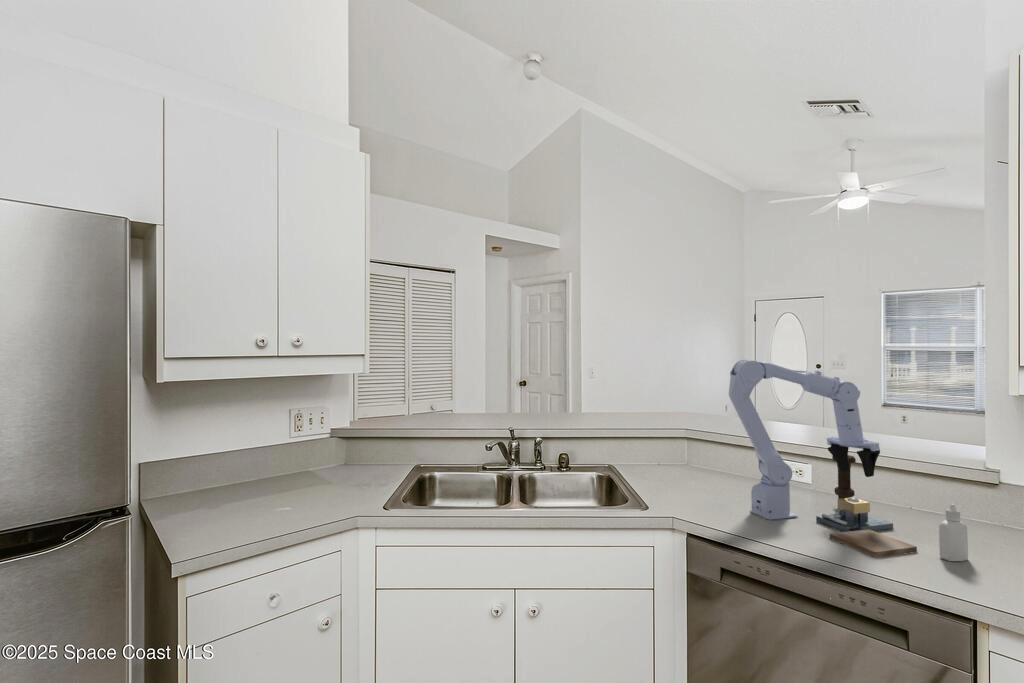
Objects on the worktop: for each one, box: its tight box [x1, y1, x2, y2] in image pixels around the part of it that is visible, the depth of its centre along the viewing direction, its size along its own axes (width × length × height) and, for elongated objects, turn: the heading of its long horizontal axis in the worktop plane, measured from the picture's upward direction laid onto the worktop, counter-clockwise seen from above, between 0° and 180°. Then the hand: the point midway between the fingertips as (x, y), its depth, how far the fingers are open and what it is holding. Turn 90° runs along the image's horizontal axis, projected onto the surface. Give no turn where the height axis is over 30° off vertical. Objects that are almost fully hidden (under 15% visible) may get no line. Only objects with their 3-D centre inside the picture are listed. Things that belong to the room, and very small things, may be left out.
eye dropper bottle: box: [938, 503, 969, 562], centre depth 114 cm, size 4×6×12 cm
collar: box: [837, 496, 871, 514], centre depth 136 cm, size 5×5×2 cm
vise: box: [815, 497, 894, 532], centre depth 136 cm, size 14×10×7 cm
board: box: [829, 529, 918, 559], centre depth 122 cm, size 12×12×1 cm
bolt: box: [831, 454, 857, 500], centre depth 151 cm, size 6×5×15 cm
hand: (857, 473), depth 141 cm, fingers open, 7 cm apart
